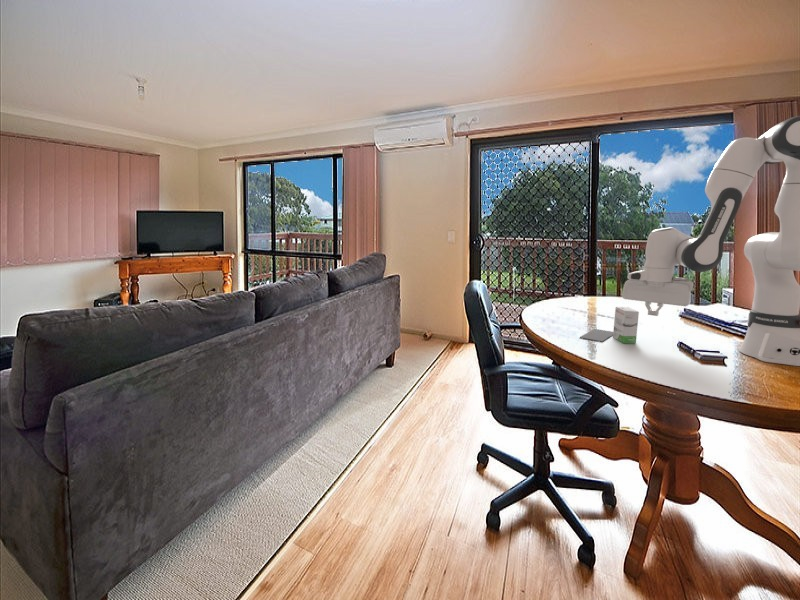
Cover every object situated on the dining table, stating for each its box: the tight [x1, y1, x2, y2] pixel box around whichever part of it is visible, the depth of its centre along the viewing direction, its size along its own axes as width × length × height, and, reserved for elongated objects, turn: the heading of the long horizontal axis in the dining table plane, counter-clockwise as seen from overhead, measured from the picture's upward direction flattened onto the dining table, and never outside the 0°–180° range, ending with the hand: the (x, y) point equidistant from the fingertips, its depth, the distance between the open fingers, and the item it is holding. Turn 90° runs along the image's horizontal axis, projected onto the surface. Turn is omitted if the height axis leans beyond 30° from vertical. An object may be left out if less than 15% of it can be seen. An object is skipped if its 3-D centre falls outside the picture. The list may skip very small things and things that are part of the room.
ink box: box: [612, 306, 640, 344], centre depth 149 cm, size 9×5×12 cm, turn 175°
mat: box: [579, 328, 613, 343], centre depth 157 cm, size 8×16×1 cm, turn 137°
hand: (652, 315), depth 143 cm, fingers closed
